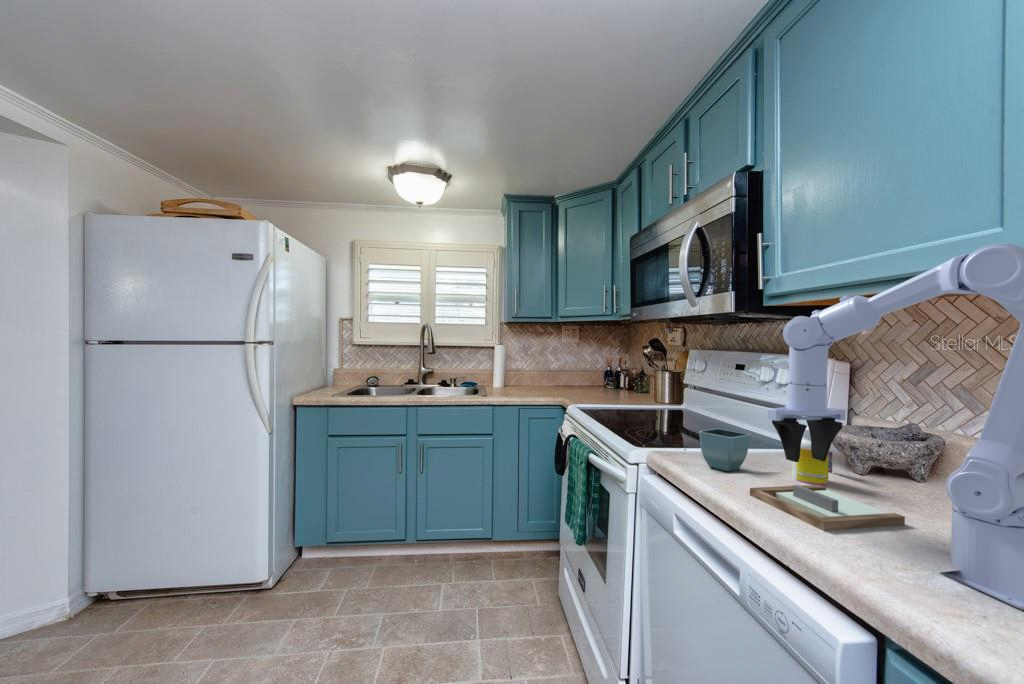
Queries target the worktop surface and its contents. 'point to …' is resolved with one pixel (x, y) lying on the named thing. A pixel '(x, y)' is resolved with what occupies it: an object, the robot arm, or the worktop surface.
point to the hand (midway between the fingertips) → (805, 460)
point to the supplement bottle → (810, 464)
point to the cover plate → (825, 503)
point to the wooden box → (825, 522)
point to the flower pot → (724, 448)
